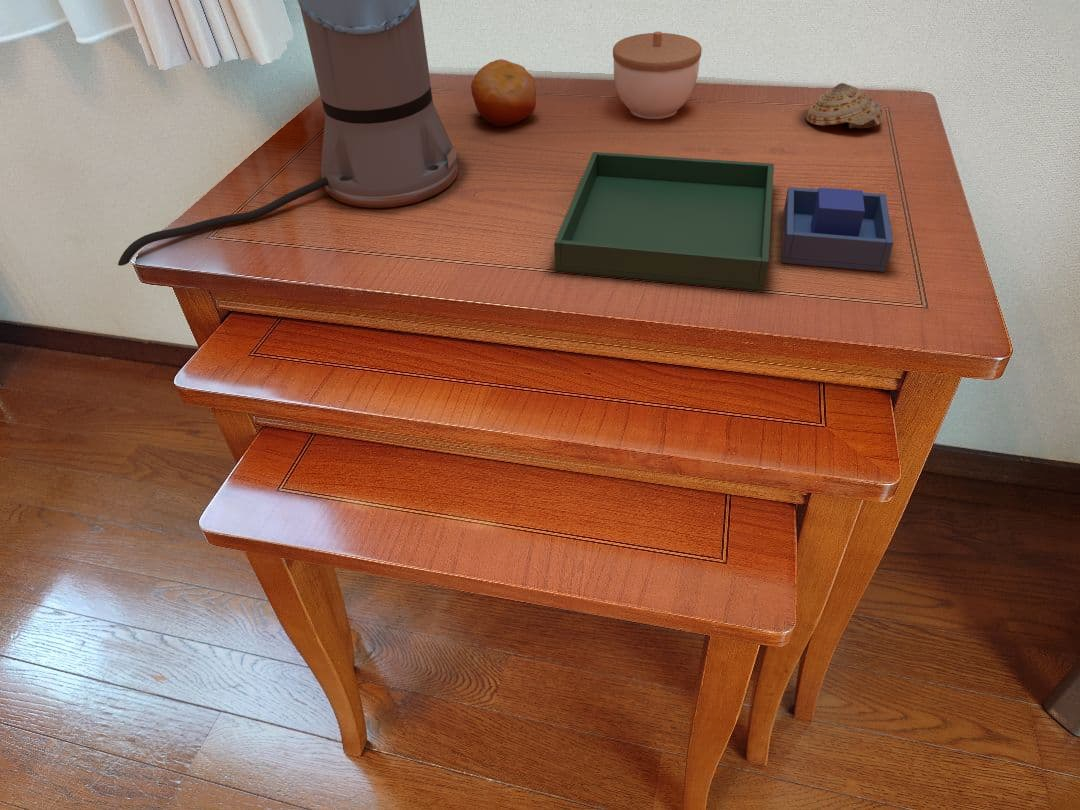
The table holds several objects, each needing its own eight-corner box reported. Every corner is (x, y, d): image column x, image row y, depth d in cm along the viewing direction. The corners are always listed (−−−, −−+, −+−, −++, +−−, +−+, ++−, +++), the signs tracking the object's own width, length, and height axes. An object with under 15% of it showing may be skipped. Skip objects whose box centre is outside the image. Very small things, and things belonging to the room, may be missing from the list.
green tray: (555, 271, 76) (554, 242, 74) (592, 178, 89) (592, 151, 87) (763, 291, 72) (768, 261, 70) (769, 190, 86) (774, 163, 84)
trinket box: (693, 128, 98) (700, 49, 92) (606, 125, 100) (607, 46, 93) (698, 95, 106) (705, 19, 99) (617, 92, 107) (619, 17, 101)
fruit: (504, 87, 106) (519, 41, 99) (535, 133, 105) (553, 89, 98) (452, 104, 103) (464, 57, 96) (484, 151, 102) (498, 107, 94)
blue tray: (781, 263, 75) (786, 233, 73) (783, 214, 82) (788, 186, 80) (885, 272, 73) (893, 242, 71) (878, 222, 80) (885, 193, 78)
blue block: (811, 245, 76) (819, 207, 73) (810, 224, 79) (818, 187, 76) (855, 249, 75) (865, 210, 73) (853, 227, 78) (862, 190, 75)
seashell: (876, 124, 91) (819, 84, 93) (847, 162, 96) (793, 124, 97) (900, 100, 96) (846, 62, 97) (872, 137, 101) (820, 101, 102)
